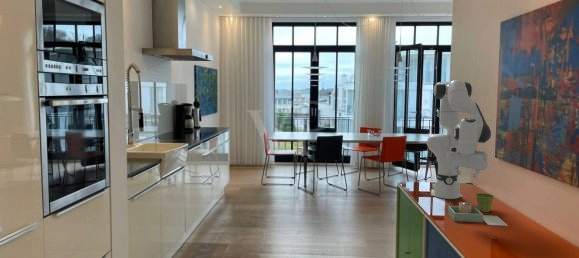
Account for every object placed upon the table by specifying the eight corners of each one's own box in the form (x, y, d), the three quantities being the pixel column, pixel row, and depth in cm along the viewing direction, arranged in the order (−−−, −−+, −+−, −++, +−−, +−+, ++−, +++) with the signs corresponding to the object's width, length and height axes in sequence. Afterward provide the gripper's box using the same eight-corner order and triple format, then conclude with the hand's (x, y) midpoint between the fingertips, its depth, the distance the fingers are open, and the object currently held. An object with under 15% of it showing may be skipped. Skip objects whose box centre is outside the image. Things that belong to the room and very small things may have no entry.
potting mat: (479, 215, 223) (479, 215, 223) (496, 216, 222) (496, 215, 222) (488, 224, 208) (488, 224, 208) (507, 225, 206) (507, 225, 206)
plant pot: (495, 213, 227) (496, 197, 226) (477, 212, 229) (477, 197, 228) (491, 208, 236) (491, 193, 235) (473, 207, 238) (473, 192, 237)
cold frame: (447, 212, 228) (448, 205, 227) (474, 214, 226) (475, 206, 225) (453, 220, 214) (454, 213, 214) (482, 222, 212) (483, 214, 212)
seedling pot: (457, 215, 223) (457, 201, 223) (469, 216, 222) (469, 202, 222) (460, 218, 217) (460, 204, 217) (472, 219, 216) (473, 205, 216)
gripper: (490, 151, 210) (489, 178, 211) (453, 147, 226) (452, 172, 228) (484, 152, 206) (482, 180, 207) (446, 148, 223) (445, 173, 224)
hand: (466, 176), depth 218 cm, fingers open, 8 cm apart
